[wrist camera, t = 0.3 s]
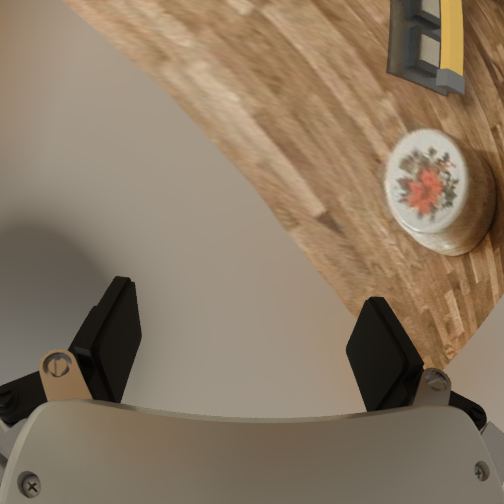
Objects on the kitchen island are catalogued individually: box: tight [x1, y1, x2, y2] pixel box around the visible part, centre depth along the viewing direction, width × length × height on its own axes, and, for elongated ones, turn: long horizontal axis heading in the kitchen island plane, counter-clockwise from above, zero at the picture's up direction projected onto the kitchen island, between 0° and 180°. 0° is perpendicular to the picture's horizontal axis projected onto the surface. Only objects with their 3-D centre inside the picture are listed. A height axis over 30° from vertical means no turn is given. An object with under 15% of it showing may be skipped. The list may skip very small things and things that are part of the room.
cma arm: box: [436, 0, 465, 94], centre depth 20 cm, size 22×4×2 cm, turn 174°
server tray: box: [386, 0, 447, 96], centre depth 25 cm, size 20×11×7 cm, turn 174°
